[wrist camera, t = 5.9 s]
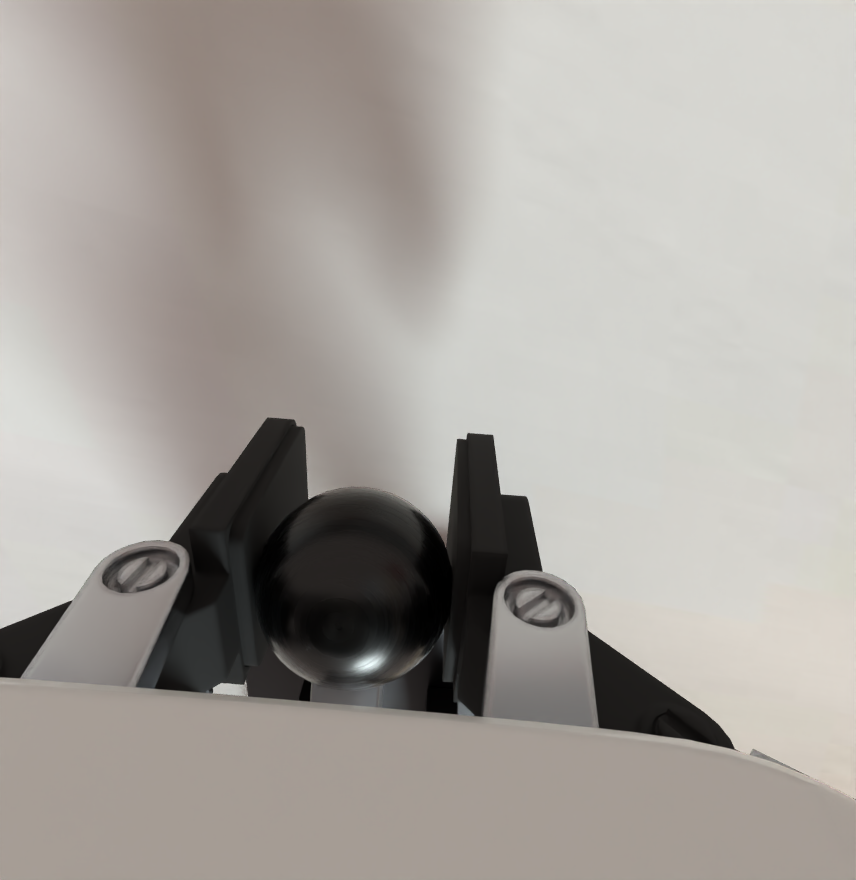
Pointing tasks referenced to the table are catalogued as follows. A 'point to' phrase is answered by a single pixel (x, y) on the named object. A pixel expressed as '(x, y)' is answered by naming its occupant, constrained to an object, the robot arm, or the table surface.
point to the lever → (353, 592)
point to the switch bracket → (404, 693)
